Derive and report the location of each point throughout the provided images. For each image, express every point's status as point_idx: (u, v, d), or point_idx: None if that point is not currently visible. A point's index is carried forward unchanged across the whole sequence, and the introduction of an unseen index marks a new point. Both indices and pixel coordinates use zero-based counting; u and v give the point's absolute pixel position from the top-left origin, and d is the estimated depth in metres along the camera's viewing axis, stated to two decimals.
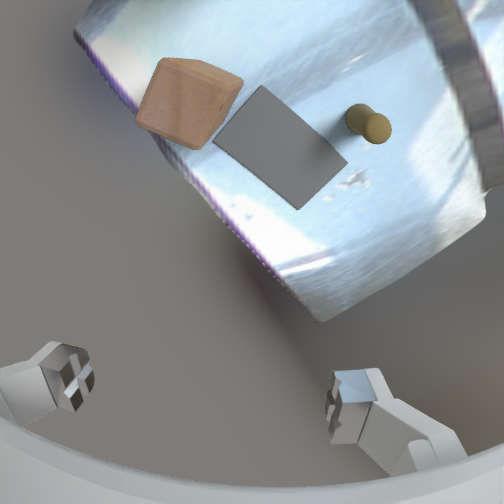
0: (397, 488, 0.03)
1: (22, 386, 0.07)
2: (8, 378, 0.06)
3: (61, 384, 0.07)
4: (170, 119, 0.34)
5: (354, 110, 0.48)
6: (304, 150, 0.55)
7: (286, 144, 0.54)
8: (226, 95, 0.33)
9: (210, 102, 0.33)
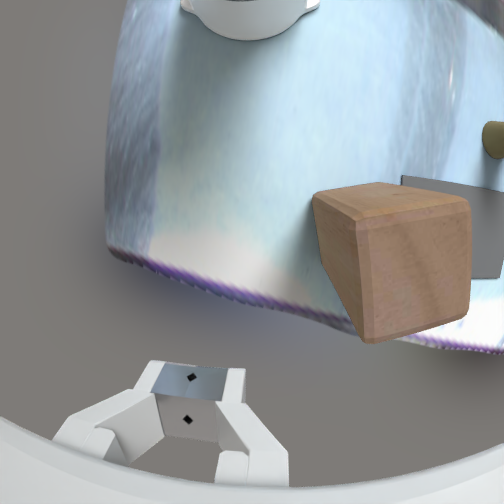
0: (397, 488, 0.03)
1: (132, 420, 0.06)
2: (118, 414, 0.06)
3: (183, 410, 0.07)
4: (422, 303, 0.19)
5: (493, 135, 0.31)
6: (478, 214, 0.36)
7: None
8: None
9: (462, 241, 0.18)
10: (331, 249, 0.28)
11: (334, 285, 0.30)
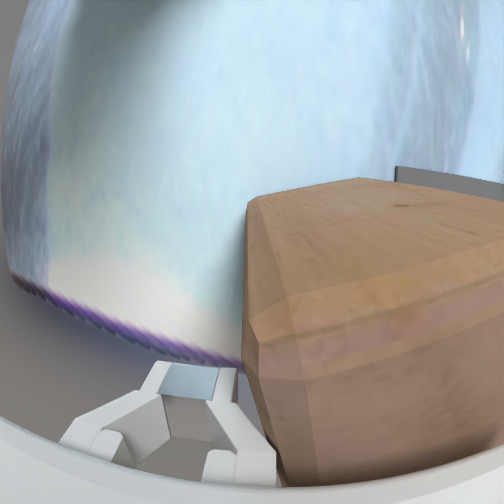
0: (397, 488, 0.03)
1: (139, 422, 0.06)
2: (125, 416, 0.06)
3: (190, 411, 0.07)
4: None
5: None
6: None
7: None
8: None
9: None
10: None
11: None
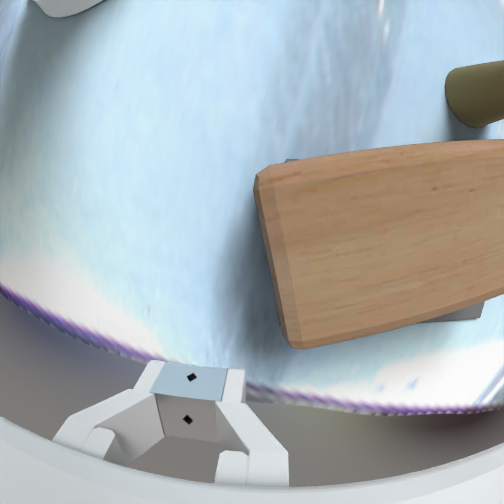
0: (397, 488, 0.03)
1: (132, 420, 0.06)
2: (118, 414, 0.06)
3: (183, 410, 0.07)
4: None
5: (462, 85, 0.18)
6: None
7: None
8: None
9: None
10: (460, 228, 0.13)
11: (445, 302, 0.15)
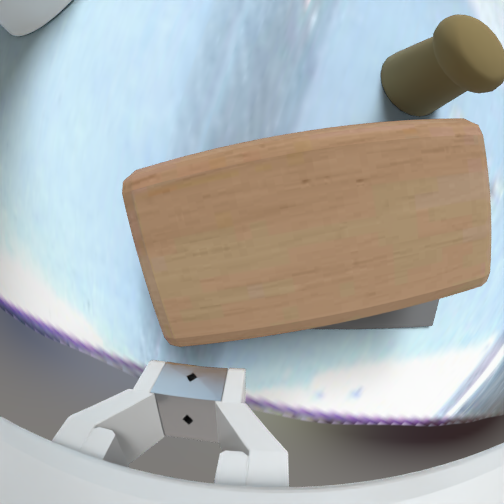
0: (397, 488, 0.03)
1: (132, 420, 0.06)
2: (118, 414, 0.06)
3: (182, 410, 0.07)
4: None
5: (395, 69, 0.18)
6: None
7: None
8: None
9: None
10: (346, 225, 0.14)
11: (335, 309, 0.15)
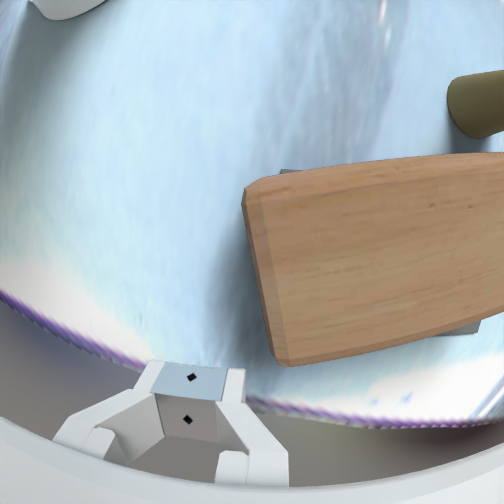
0: (397, 488, 0.03)
1: (132, 420, 0.06)
2: (118, 414, 0.06)
3: (183, 410, 0.07)
4: None
5: (465, 95, 0.18)
6: None
7: None
8: None
9: None
10: (457, 246, 0.13)
11: (440, 322, 0.14)
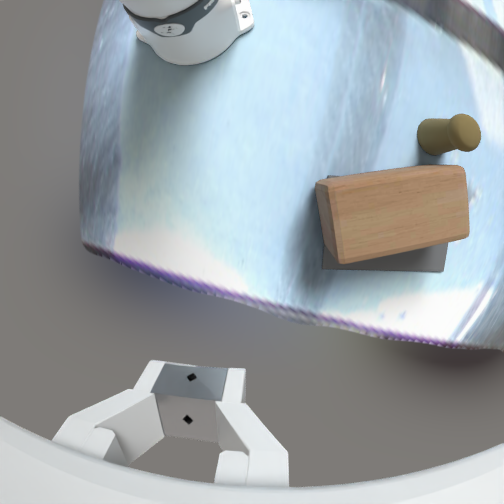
0: (397, 488, 0.03)
1: (132, 420, 0.06)
2: (118, 414, 0.06)
3: (183, 410, 0.07)
4: None
5: (426, 132, 0.37)
6: None
7: None
8: None
9: None
10: (413, 209, 0.33)
11: (408, 243, 0.34)
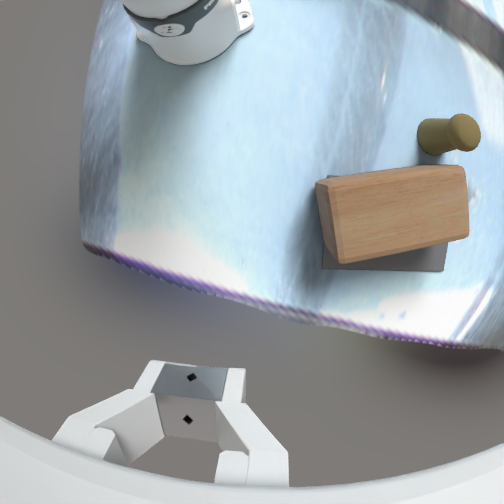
0: (397, 488, 0.03)
1: (132, 420, 0.06)
2: (118, 414, 0.06)
3: (183, 411, 0.07)
4: None
5: (426, 132, 0.37)
6: None
7: None
8: None
9: None
10: (413, 209, 0.33)
11: (408, 243, 0.34)
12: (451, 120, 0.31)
